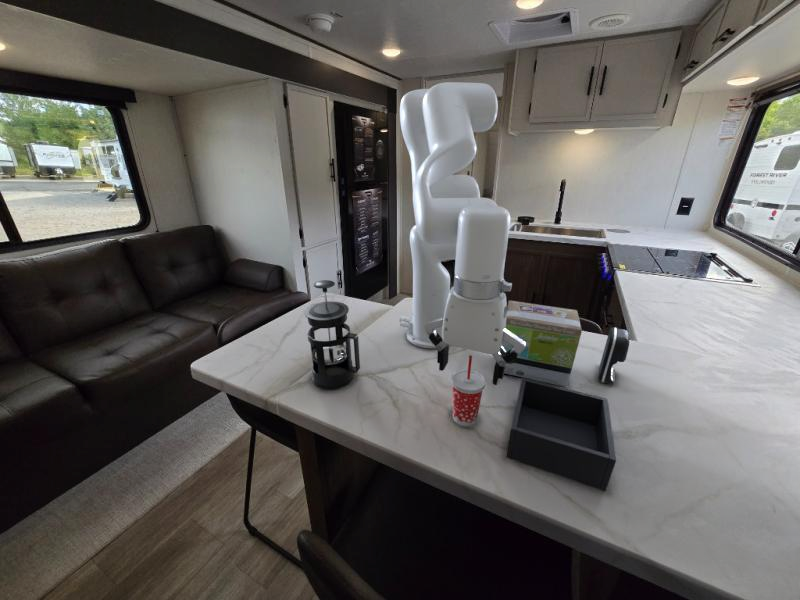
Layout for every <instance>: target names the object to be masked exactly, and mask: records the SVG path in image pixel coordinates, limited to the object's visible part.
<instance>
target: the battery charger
mask: <svg viewBox="0 0 800 600" xmlns="http://www.w3.org/2000/svg"><path fill="white" fill-rule="evenodd" d="M603 348H604V350H603V352H602V356H601V360H600V362H599V368H598V369H599V370H598V379H597V380H598V381H599V382H601V383H605V384H609V385H613V384H615V381H616V370H615V368H614V367H613V366H614V365H616V364H618V362H619V363H625V361H626V359H627V356H628V353H629V349H630V333H629V332H628V331H627V330H625V329H623V328H618V327H610V328H609V331H608V334H607V339H606V341H605V345H604V347H603Z"/></svg>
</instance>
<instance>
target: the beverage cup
mask: <svg viewBox="0 0 800 600" xmlns="http://www.w3.org/2000/svg"><path fill="white" fill-rule="evenodd" d="M472 360H473V355H471V354H469V355H468V366H467V369H460V370H456V371H455V372H454V373H453V374H451V379H450V380H451V386H452V419H453V421H454V422H455V423H456V424H457V425H459V426H461V427H472V426H474V425H475V424H477V421H478V416H479V410H480V406H481V401H482V395H483V391H484V389H485V387H486V382H487V381H486V378H485V376H483V375H482V374H481V373H480V372H478V371H476V370H471V369H472Z"/></svg>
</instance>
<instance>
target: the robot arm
mask: <svg viewBox="0 0 800 600" xmlns="http://www.w3.org/2000/svg"><path fill="white" fill-rule="evenodd" d="M498 110H499V102H498V96H497V93H496V92H495V90H494V88H493V87H492V86H491V85H490V84H488V83H485V82H457V81H454V82H453V81H447V82H446V81H445V82H440V83H436V84H435V85H433V86H431V87H430V88H418V89H413V90H411V91H409V92H406V93H405V94H404V95H403V96H402V98H401V100H400V105H399V123H400V129H401V133H402V138H403V140H404V143H405V146H406V149H407V151H408V155H409V158H410V166H411V167H410V169H411V183H412V184H411V185H412V207H413V213H414V215H413V216H414V223H415V225H413V226H412V228H411V229H410V233H409V246H410V252H411V253H410V254H411V262H412V316H411V317H408V316H403V315H400V318H399V326H400V327H402V328H407V331H406V339H407V340H408V342H410V344H412V345H414V346H416V347H419V348H422V349H423V348H424V349H435V350H436V351H437V357H436V358H437V359H436V363H437V364H438V365H439V366H438V370H439V371H440V372H443V371H444V370H445V368H446V367H447V365H448V363H449V354H450V353H449V352H450V346H452V347H456V348H461V349H463V350H464V349H465V350H470V351H473V352H477V353H482V354H485V355H486V354H487V355H491V356H492V357H493V358H494V360H495V364H494V369H493V375H492V385H494V386H497V385H498V383H499V380H503V378H504V375H505V373H504V368H505V365H506V364H507V363H509V362H511V361H513V360H515V359H516V358H517V356H518V355H520V353H521V352H522V351H523V350H524V349H525V347H526V342H525V341H523V340H522V339H520V338H519V337H517V336H516V335H514V334H513V333H511V332H510V331H509V330H507V329H506V316H507V307H508V302H507V295H506V294H507V293H506V292H509V293H510V292H511V291H512V287H513V282H508V281H506V279H504V278H505V276H504V273H505V263H506V257H507V250H508V241H509V234H510V227H511V214H510V212H509V210H508V209H507V208H505V207H503V206H500V205H498V204H497V203H496V201H494V200H493V199H491V198H488V197H481V193H480V191H481V190H480V187H479V184H478V182H477V180H476V179H475V177H473V176H471V175H468V174H456V173H459V172H460V171H462V170H463V169H466V168H467V167H468V166H469V165H471V163H472V162H473V160H474V159H475V157H476V154H477V149H478V148H477V143H476V139H475V135H474V133H484V132H488V131H489V130H490V129H491V128H492V127H493V126H494V124H495V122H496V119H497V117H498V112H499V111H498ZM452 260H455V262H454V275H453V276H454V277H453V286H451V275H450V273H449V270H447V268H446V267H445V266H444V265H443V264H442V262H443V261H452ZM504 340H506V341H507V342H509V343H510V344H511V345H513V346H514V348H513V349H511V350H509V351H507V352H506V351H505V349H504V348H503V346H502V344H503V342H504Z"/></svg>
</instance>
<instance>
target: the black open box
mask: <svg viewBox="0 0 800 600" xmlns="http://www.w3.org/2000/svg"><path fill="white" fill-rule="evenodd" d="M608 399H609V398H606V397H603V396H599V395H595V394H590V393H586V392H583V391H578V390H574V389H570V388H566V387H563V386H559V385H555V384H551V383H547V382H542V381H537V380H533V379H529V378H523V377H521V381H520V387H519V390H518V395H517V400H516V404H515V408H514V413H513V416H512V417H513V418H512V421H511V428H510V432H509V438H508V442H507V443H508V444H507V449H506V454H505V455H506V456H505V458H506V459H509V460H511V461H512V460H513V461H515V462H517V463H521V464H524V465H527V466H530V467H533V468H536V469H539V470H542V471H544V472H547V473H550V474H554V475H555V476H560V477H563V478H564V479H565V478H566V479H568V480H571V481H573V482H577V483H581V484H583V485H585V486H589V487H591V488H594V489H598V490H601V491H603V492H606V491H607V487H608V485H609V482H610V479H611V477H612V473H613V471H614V468H615V464H616V462H617V458H616V451H615V449H616V448H615V442H614V435H613V427H612V421H611V413H610V406H609V400H608Z"/></svg>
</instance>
